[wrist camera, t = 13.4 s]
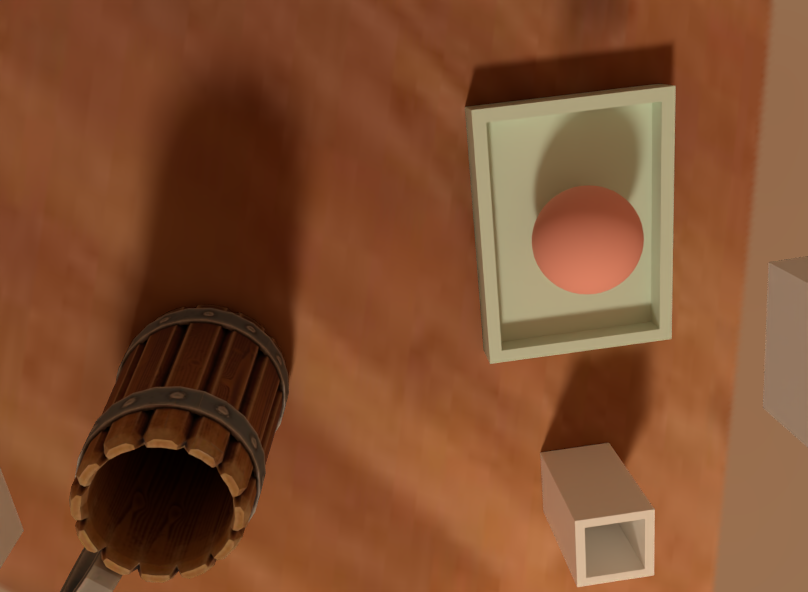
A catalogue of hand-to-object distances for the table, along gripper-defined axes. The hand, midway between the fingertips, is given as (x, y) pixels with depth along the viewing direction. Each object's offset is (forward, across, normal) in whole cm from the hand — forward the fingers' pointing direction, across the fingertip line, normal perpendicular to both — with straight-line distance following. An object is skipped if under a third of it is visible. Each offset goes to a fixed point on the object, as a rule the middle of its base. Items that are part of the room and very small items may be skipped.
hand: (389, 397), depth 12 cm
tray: (+34, +13, -8) cm, 37 cm away
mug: (+34, -13, -16) cm, 40 cm away
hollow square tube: (+34, +12, -27) cm, 45 cm away
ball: (+30, +13, -8) cm, 34 cm away
